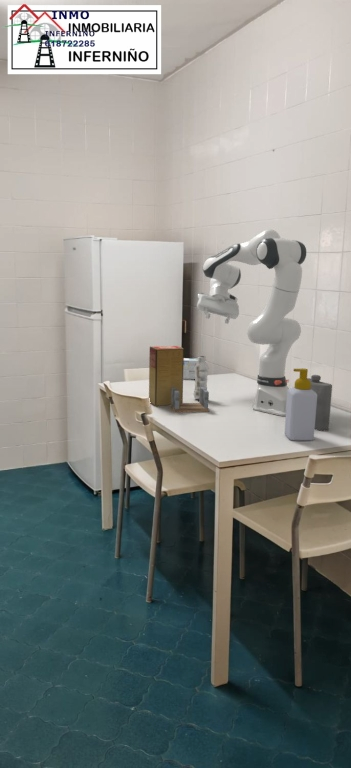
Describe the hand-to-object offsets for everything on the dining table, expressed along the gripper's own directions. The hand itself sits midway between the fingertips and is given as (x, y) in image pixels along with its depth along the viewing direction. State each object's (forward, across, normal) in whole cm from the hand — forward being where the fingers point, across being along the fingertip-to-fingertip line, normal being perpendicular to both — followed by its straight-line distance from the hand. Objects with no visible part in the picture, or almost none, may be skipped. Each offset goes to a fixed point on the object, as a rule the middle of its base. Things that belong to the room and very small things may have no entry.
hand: (217, 320), depth 265 cm
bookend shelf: (+47, -9, +6) cm, 48 cm away
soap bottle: (+71, +22, -31) cm, 81 cm away
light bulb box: (-1, +4, +54) cm, 54 cm away
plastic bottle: (+34, 0, +17) cm, 38 cm away
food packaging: (+41, -17, +16) cm, 47 cm away
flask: (+59, +33, -22) cm, 72 cm away
